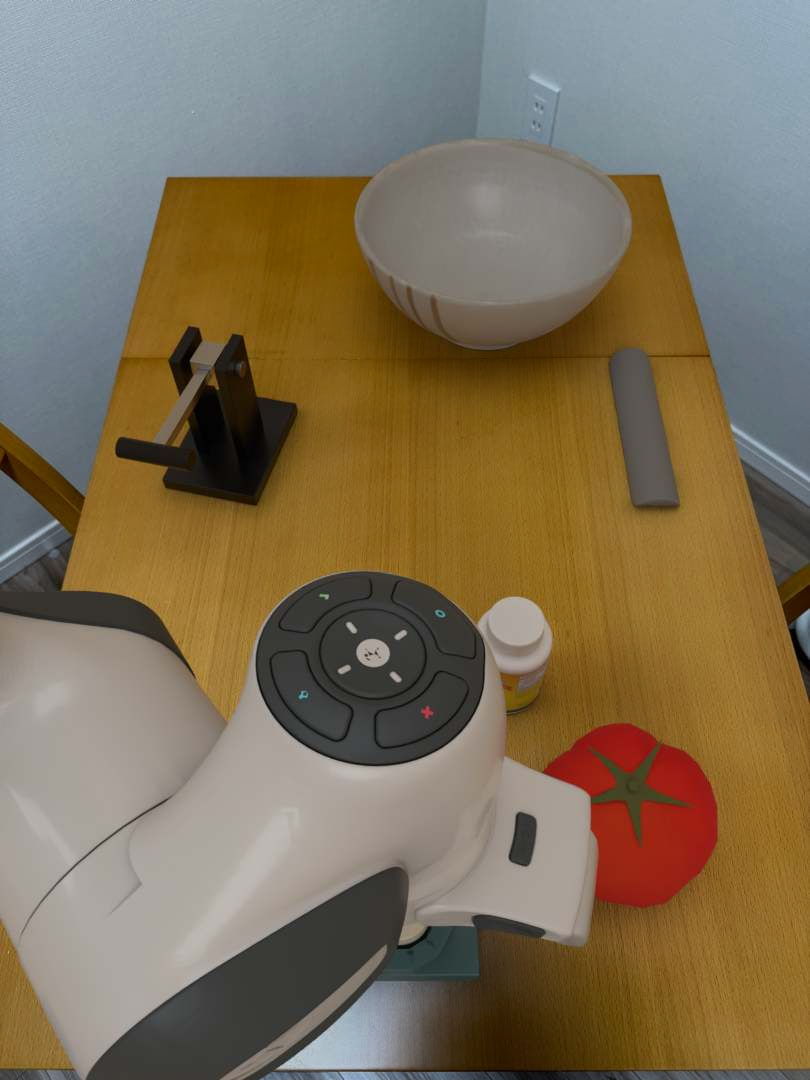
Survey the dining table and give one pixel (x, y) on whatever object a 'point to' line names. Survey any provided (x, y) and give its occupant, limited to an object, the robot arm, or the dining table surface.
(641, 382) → the gray half cylinder
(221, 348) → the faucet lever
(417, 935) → the beige push button
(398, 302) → the decorative bowl
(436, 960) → the push button box
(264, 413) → the lever stand
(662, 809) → the tomato
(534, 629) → the supplement bottle
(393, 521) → the dining table surface
